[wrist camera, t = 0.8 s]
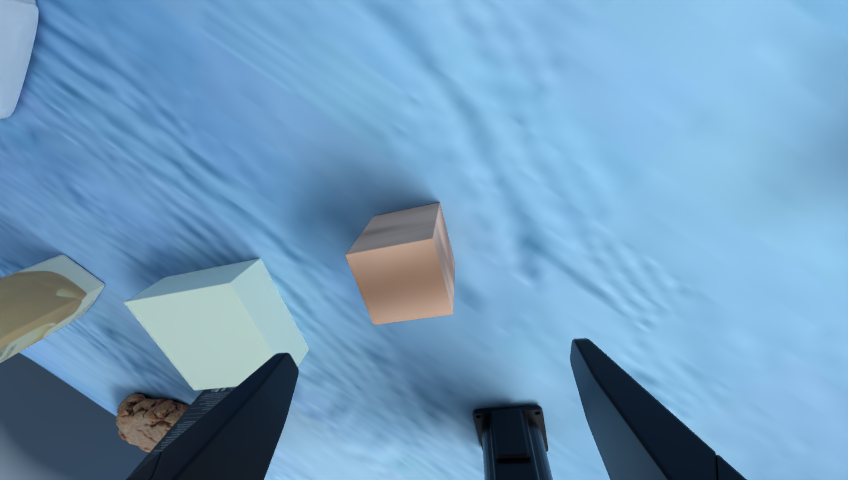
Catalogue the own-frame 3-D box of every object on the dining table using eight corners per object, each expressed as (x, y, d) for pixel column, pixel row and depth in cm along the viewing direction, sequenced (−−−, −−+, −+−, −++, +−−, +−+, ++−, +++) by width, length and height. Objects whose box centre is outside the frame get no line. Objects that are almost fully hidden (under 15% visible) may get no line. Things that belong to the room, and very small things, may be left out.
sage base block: (310, 346, 29) (289, 381, 25) (224, 356, 31) (194, 390, 27) (262, 256, 25) (229, 282, 21) (168, 274, 27) (123, 302, 24)
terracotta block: (454, 263, 23) (452, 314, 18) (393, 273, 24) (373, 324, 19) (439, 202, 21) (432, 238, 16) (373, 216, 22) (345, 254, 17)
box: (207, 383, 33) (104, 500, 23) (251, 379, 32) (161, 500, 22) (243, 429, 36) (164, 550, 26) (284, 426, 35) (217, 551, 25)
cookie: (227, 433, 37) (209, 459, 34) (170, 446, 40) (149, 472, 37) (169, 378, 34) (144, 403, 31) (111, 397, 37) (83, 421, 34)
